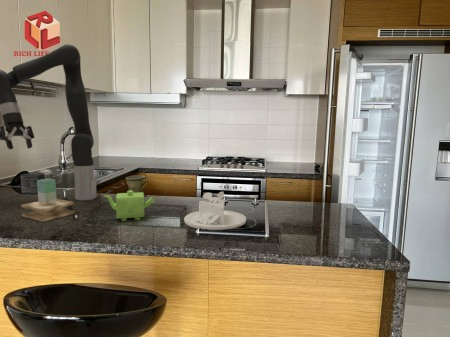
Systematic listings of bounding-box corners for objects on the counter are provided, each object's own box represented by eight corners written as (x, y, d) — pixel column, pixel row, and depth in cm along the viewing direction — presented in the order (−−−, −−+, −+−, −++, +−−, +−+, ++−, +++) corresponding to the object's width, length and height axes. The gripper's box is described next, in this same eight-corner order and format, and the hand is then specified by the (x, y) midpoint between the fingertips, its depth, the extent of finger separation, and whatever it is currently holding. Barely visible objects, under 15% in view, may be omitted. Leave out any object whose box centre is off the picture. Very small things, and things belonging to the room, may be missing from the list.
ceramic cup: (122, 196, 174) (121, 177, 173) (135, 192, 183) (135, 175, 182) (141, 198, 168) (140, 179, 167) (153, 195, 177) (153, 177, 176)
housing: (49, 201, 139) (48, 178, 138) (56, 203, 137) (55, 179, 136) (38, 203, 135) (37, 180, 134) (45, 205, 133) (44, 181, 131)
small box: (46, 191, 183) (45, 173, 182) (39, 194, 177) (37, 175, 176) (29, 191, 184) (27, 173, 183) (20, 193, 178) (19, 174, 177)
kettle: (103, 219, 131) (102, 192, 129) (129, 211, 143) (128, 186, 142) (132, 225, 124) (131, 196, 123) (156, 216, 136) (155, 190, 135)
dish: (177, 215, 139) (177, 189, 137) (232, 210, 148) (232, 186, 146) (193, 233, 116) (193, 202, 114) (256, 226, 125) (257, 197, 123)
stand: (54, 209, 146) (53, 198, 145) (74, 213, 139) (73, 202, 139) (22, 216, 134) (21, 204, 133) (42, 221, 127) (41, 209, 127)
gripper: (-1, 110, 141) (9, 147, 140) (31, 112, 153) (40, 145, 153) (-10, 116, 144) (-1, 151, 144) (22, 117, 157) (31, 149, 157)
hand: (20, 148), depth 149 cm, fingers open, 8 cm apart
